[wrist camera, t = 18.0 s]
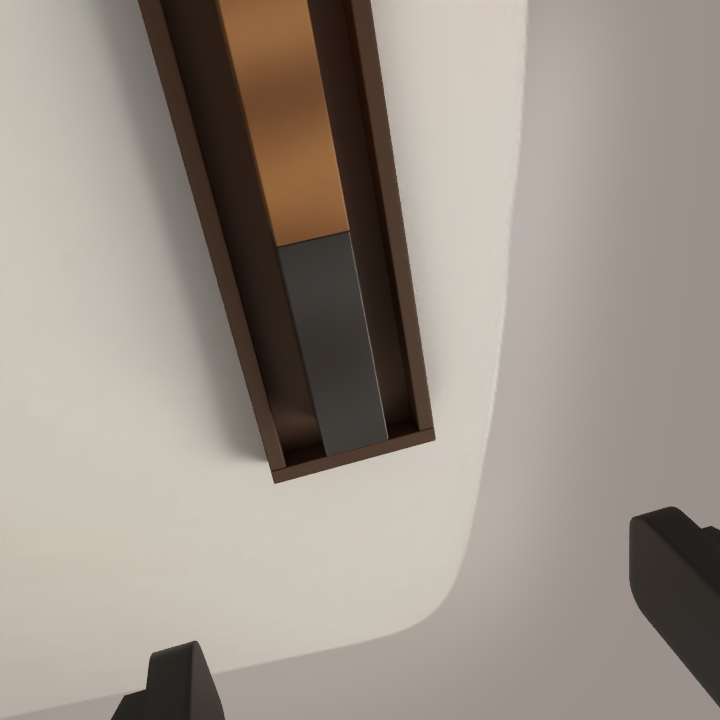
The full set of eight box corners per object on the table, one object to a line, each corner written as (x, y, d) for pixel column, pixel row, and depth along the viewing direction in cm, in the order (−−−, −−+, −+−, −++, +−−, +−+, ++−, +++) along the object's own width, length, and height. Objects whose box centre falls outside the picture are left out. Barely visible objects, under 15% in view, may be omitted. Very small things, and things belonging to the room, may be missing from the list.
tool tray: (424, 422, 35) (436, 440, 34) (271, 463, 34) (274, 484, 32) (341, -116, 25) (351, -132, 23) (118, -80, 24) (111, -94, 22)
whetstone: (369, 402, 34) (389, 440, 30) (314, 417, 33) (326, 457, 30) (283, -39, 25) (295, -61, 22) (207, -26, 25) (207, -45, 21)
